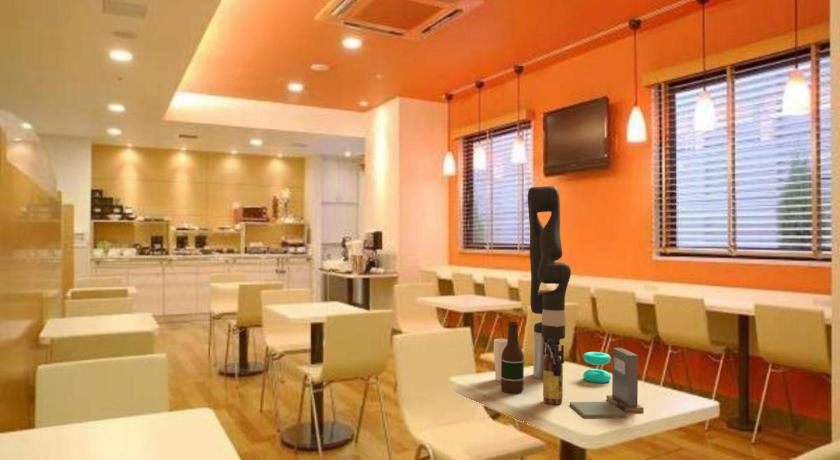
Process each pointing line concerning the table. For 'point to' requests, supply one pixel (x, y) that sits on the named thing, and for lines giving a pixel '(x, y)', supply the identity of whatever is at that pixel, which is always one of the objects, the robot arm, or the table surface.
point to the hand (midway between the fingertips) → (552, 373)
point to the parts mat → (597, 409)
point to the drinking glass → (498, 356)
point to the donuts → (597, 374)
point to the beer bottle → (512, 363)
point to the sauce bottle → (552, 382)
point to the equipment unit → (625, 381)
